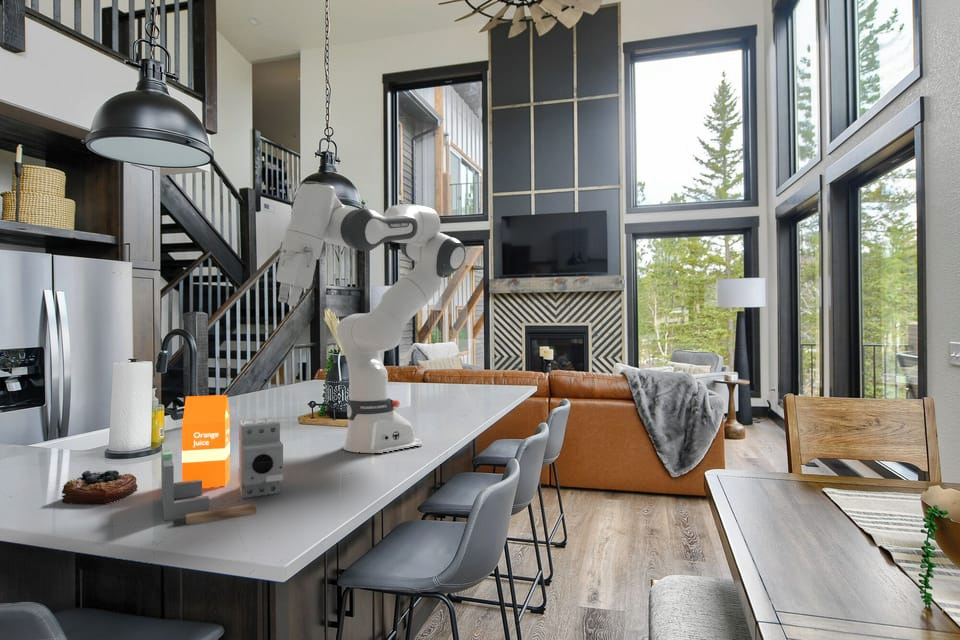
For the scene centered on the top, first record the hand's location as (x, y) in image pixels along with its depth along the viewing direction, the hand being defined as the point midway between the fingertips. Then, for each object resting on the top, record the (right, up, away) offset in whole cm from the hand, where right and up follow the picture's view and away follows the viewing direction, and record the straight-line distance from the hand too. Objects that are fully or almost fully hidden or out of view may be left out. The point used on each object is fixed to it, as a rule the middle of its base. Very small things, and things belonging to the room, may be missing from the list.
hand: (286, 304), depth 134 cm
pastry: (-34, -42, -14) cm, 56 cm away
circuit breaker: (-1, -41, -13) cm, 43 cm away
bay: (-13, -41, -20) cm, 47 cm away
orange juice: (-16, -41, -5) cm, 45 cm away
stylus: (-3, -41, -27) cm, 49 cm away
